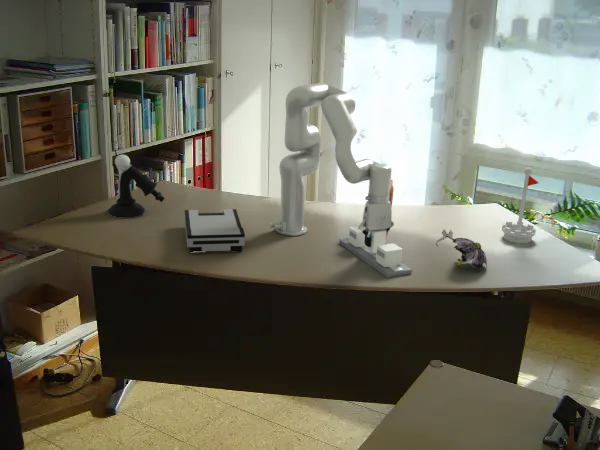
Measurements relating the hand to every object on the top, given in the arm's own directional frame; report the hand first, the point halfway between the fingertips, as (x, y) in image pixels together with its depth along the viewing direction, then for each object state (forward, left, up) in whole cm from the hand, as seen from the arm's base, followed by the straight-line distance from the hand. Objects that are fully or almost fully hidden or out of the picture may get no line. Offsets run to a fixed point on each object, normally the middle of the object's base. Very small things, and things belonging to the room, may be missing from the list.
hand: (374, 244), depth 256 cm
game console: (-50, +37, -6) cm, 63 cm away
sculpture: (-70, +78, -5) cm, 105 cm away
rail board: (0, 0, -5) cm, 5 cm away
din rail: (0, 0, -4) cm, 4 cm away
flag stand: (+67, -3, -5) cm, 67 cm away
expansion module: (0, 0, -2) cm, 2 cm away
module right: (0, -10, -3) cm, 11 cm away
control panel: (+16, +21, -5) cm, 27 cm away
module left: (0, +10, -3) cm, 10 cm away
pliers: (+38, +7, -6) cm, 39 cm away
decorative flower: (+28, -20, -5) cm, 35 cm away
